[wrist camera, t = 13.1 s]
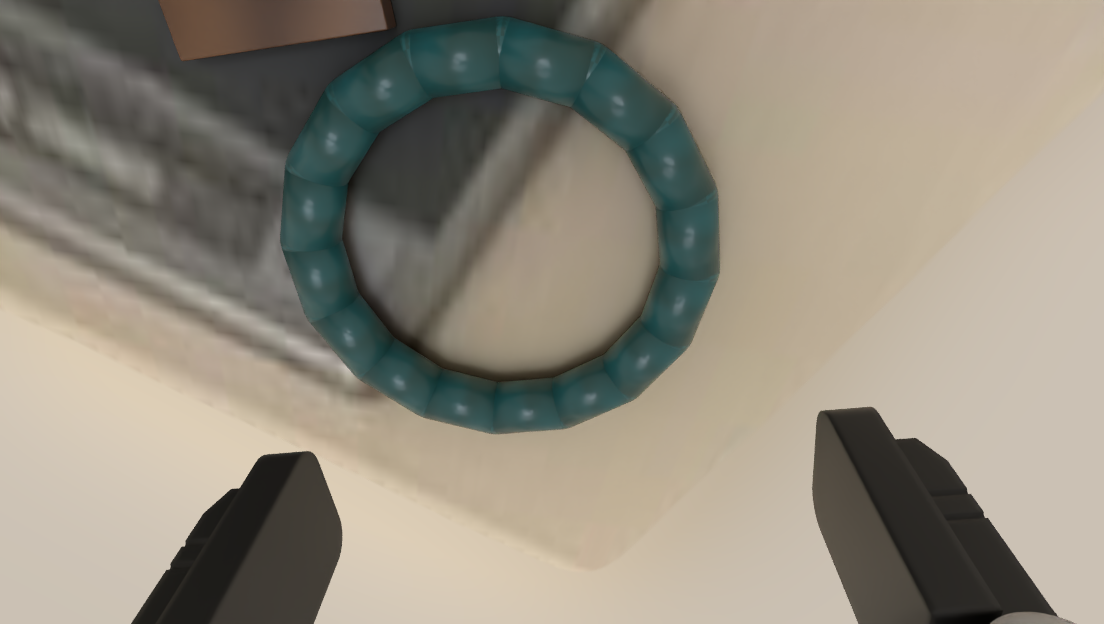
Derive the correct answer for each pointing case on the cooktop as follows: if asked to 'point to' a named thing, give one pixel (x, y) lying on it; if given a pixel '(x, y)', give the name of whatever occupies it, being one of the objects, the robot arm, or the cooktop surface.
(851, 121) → the cooktop surface
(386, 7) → the ring toss
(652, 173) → the ring
